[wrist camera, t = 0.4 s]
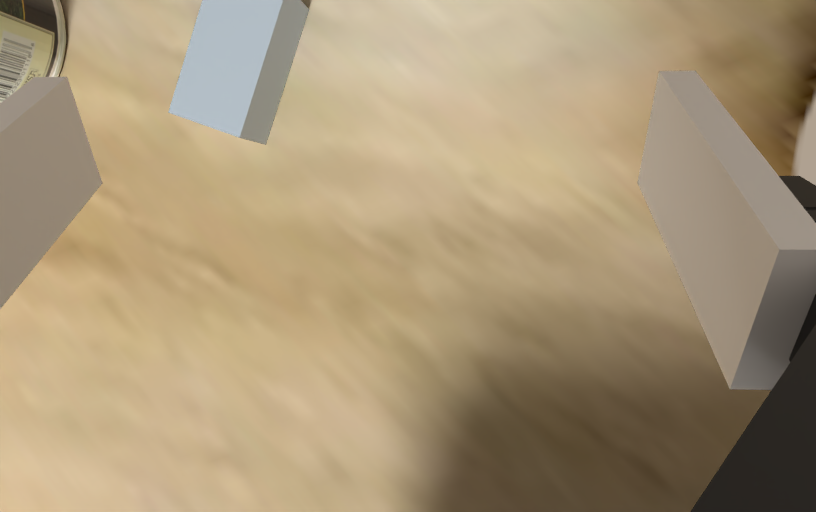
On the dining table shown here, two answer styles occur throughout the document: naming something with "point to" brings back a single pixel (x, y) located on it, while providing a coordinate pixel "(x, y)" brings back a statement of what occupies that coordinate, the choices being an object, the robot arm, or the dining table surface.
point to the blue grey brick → (239, 65)
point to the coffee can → (30, 42)
